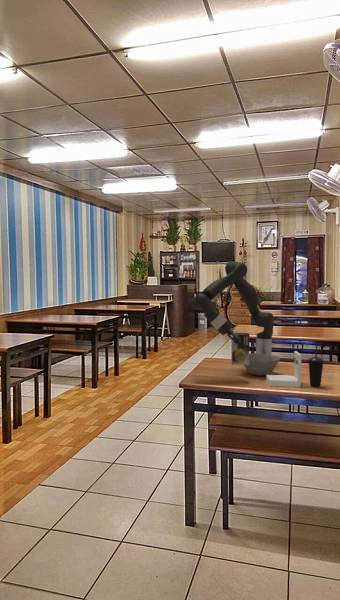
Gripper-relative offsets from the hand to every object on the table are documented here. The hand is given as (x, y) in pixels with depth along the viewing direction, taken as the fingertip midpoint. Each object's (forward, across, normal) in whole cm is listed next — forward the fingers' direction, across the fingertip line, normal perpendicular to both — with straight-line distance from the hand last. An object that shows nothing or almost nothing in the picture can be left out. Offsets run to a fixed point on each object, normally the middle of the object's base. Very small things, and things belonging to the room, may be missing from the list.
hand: (243, 347), depth 221 cm
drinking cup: (+38, -6, -12) cm, 40 cm away
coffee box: (+5, 0, +8) cm, 9 cm away
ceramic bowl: (+20, +17, +6) cm, 27 cm away
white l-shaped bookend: (+26, -3, -1) cm, 27 cm away
